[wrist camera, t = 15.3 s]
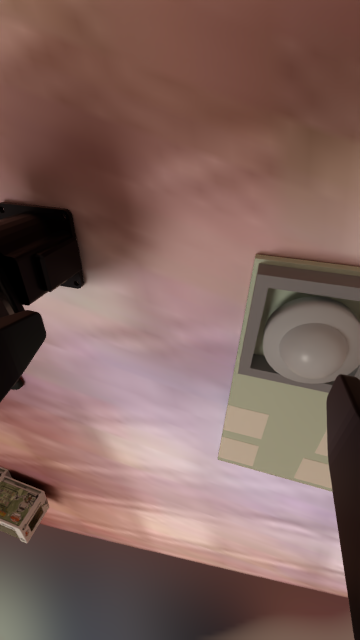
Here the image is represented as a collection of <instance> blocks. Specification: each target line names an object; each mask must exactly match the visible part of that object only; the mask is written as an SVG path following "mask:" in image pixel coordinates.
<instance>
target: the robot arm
mask: <svg viewBox="0 0 360 640" xmlns="http://www.w3.org/2000/svg"><path fill="white" fill-rule="evenodd" d="M3 208H4V210H5V211H4V210H3ZM63 213H64V214H65V215H66V218H65V217H64V215H63ZM77 281H78V283H79V284H78V283H77ZM83 285H84V279H83V273H82V265H81V260H80V254H79V248H78V243H77V240H76V234H75V229H74V223H73V218H72V214H71V212H70V211H69V210H68V209H65V208H56V207H46V206H37V205H27V204H17V203H8V202H1V203H0V402H1V401H2V400H3V398H4V397H5V396H6V395H7V393H8V392H9V391H10V390H11V388H12V387H13V386H14V385H15V383H16V382H17V381H18V379H19V378H20V377H21V375H22V374H23V372H24V371H25V369H26V368H27V366H28V365H29V363H30V362H31V360H32V359H33V357H34V356H35V354H36V352H37V351H38V349H39V348H40V346H41V345H42V343H43V342H44V340H45V338H46V331H45V327H44V324H43V320H42V317H41V315H40V314H39V313H38V312H34V311H29V310H24V308H23V306H22V305H30V304H31V303H33V302H34V301H36V300H37V299H38V298H40V297H41V296H43V295H44V294H46V293H47V292H51V291H53V290H54V289H56V288H57V287H58V286H65V287H71V288H77V289H78V288H81V287H82V286H83ZM326 410H327V450H328V463H329V471H330V478H331V484H332V491H333V498H334V504H335V511H336V518H337V525H338V531H339V538H340V545H341V552H342V558H343V565H344V572H345V579H346V585H347V592H348V599H349V606H350V612H351V618H352V626H353V633H354V639H355V640H360V380H359V379H358V378H357V377H354V376H349V375H344V374H340V375H338V376H337V377H336V379H335V381H334V383H333V385H332V387H331V390H330V392H329V394H328V396H327V402H326Z"/></svg>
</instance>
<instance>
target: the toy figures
mask: <svg viewBox="0 0 360 640" xmlns="http://www.w3.org/2000/svg"><path fill="white" fill-rule="evenodd" d="M48 508H49V504H48V501H47V498H46V495H45V492H44V491H42V490H40V489H37V488H35V487H32V486H30V485H27V484H25V483H22V482H20V481H17V480H15V479H12V477H11V475H10V472H9V470H7V469H5V468H2V467H0V531H3V532H5V533H8V534H10V535H12V536H14V537H17V538H19V539H20V540H21V541H23V542H25V543H28V541H29V540H30V538H31V536H32V535H33V533H34V531H35V530H36V528H37V526H38V525H39V523H40V522H41V520H42V518H43V517H44V515H45V513H46V512H47V510H48Z"/></svg>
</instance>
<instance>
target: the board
mask: <svg viewBox="0 0 360 640" xmlns="http://www.w3.org/2000/svg"><path fill="white" fill-rule="evenodd" d="M315 296H317V297H325V298H330V299H333V300H336V301H338V302H341V303H343V304H344V305H346V306H347V307H348V308H350V309H351V310H352V311H353V312H354V314H355V315H356V317H357V318H358V320H359V322H360V267H356V266H348V265H340V264H332V263H324V262H316V261H308V260H300V259H292V258H284V257H275V256H267V255H259V254H256V256H255V261H254V266H253V272H252V277H251V283H250V288H249V293H248V299H247V304H246V309H245V315H244V320H243V325H242V331H241V336H240V342H239V347H238V352H237V358H236V363H235V368H234V374H233V379H232V385H231V390H230V395H229V401H228V406H227V411H226V417H225V422H224V428H223V433H222V438H221V444H220V449H219V454H218V460H221V461H225V462H228V463H232V464H236V465H239V466H243V467H246V468H250V469H253V470H257V471H261V472H264V473H268V474H271V475H275V476H278V477H282V478H285V479H289V480H293V481H296V482H300V483H303V484H307V485H310V486H314V487H318V488H321V489H325V490H328V491H332V484H331V478H330V471H329V463H328V450H327V410H326V402H327V396H328V394H329V392H330V390H331V387H332V385H333V383H334V381H331V382H327V383H319V384H309V383H301V382H297V381H293V380H290V379H288V378H286V377H284V376H282V375H280V374H279V373H277V372H276V371H275V370H274V369H273V368H272V367H271V366H270V365H269V364H268V362H267V360H266V358H265V355H264V351H263V338H264V328H265V325H266V322H267V320H268V318H269V317H270V316H271V314H272V313H273V312H274V311H275V310H276V309H278V308H279V307H280V306H282V305H283V304H285V303H287V302H289V301H292V300H295V299H298V298H303V297H315ZM348 375H349V376H354V377H357V378H358V379H359V380H360V365H359V366H358V367H357V368H356V369H355V370H354V371H353V372H351V373H350V374H348ZM332 492H333V491H332Z"/></svg>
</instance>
